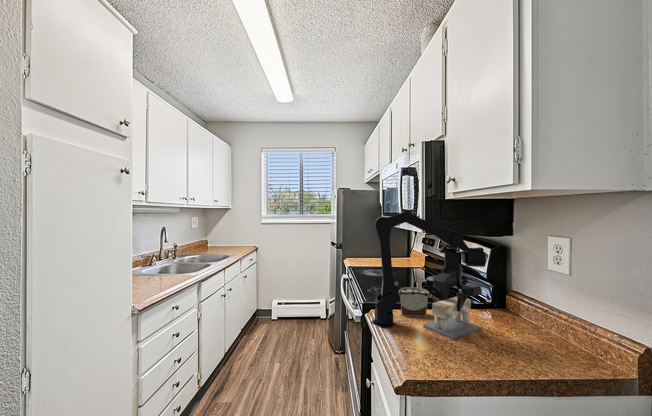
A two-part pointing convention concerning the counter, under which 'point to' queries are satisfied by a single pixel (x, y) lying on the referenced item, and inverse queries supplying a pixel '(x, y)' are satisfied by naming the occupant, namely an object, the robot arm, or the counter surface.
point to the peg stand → (452, 326)
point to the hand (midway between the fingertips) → (451, 309)
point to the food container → (413, 301)
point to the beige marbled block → (449, 308)
